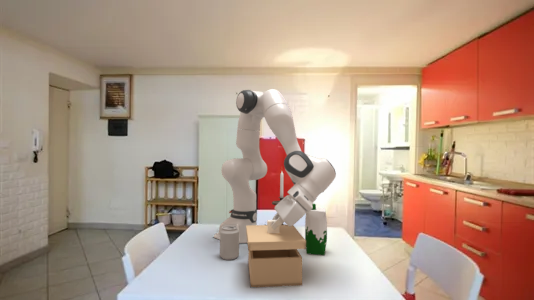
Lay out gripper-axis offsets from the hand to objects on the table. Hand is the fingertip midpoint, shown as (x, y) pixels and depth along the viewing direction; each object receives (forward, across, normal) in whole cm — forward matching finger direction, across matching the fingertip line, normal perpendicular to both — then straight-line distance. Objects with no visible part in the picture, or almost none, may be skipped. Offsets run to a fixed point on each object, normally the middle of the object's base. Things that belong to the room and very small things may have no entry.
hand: (271, 226), depth 92 cm
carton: (+11, 0, +12) cm, 16 cm away
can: (+22, -17, +1) cm, 27 cm away
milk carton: (-4, -19, +27) cm, 33 cm away
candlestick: (+2, -58, +21) cm, 62 cm away
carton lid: (+3, 0, +4) cm, 5 cm away
